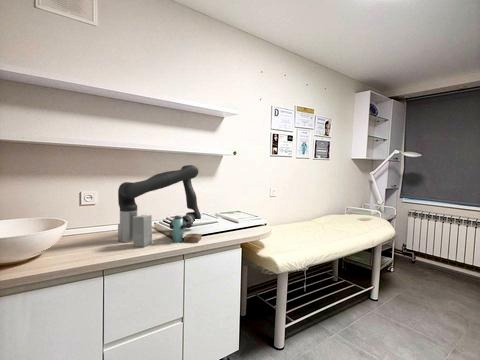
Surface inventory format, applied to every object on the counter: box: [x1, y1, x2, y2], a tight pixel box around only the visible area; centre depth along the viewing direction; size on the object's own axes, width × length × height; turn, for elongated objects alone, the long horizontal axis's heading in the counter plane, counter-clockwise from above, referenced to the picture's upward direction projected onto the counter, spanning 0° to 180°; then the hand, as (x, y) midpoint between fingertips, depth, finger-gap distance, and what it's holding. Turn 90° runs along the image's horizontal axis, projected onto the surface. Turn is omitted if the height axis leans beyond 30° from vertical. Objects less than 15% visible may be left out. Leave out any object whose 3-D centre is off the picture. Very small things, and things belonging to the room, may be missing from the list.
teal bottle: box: [172, 215, 184, 243], centre depth 144 cm, size 6×6×14 cm
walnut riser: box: [183, 233, 202, 244], centre depth 146 cm, size 8×8×3 cm
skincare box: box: [133, 214, 153, 248], centre depth 135 cm, size 8×7×16 cm
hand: (176, 227), depth 141 cm, fingers closed on teal bottle, 5 cm apart
